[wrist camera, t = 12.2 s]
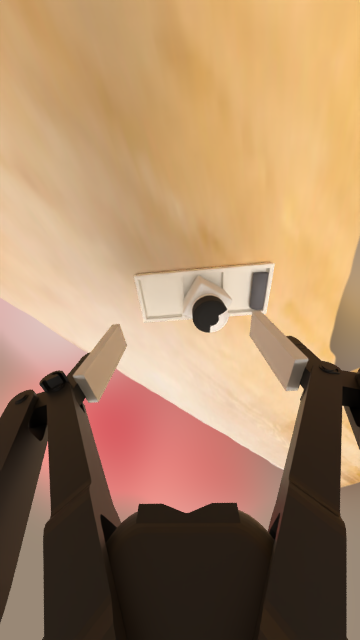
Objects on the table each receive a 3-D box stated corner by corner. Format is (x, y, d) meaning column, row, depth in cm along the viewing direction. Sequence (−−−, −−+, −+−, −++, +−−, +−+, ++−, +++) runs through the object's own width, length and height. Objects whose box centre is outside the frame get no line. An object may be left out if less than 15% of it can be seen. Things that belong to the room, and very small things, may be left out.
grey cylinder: (259, 275, 33) (271, 273, 34) (250, 273, 36) (261, 271, 36) (255, 310, 37) (266, 308, 37) (246, 306, 39) (257, 304, 40)
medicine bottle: (182, 301, 38) (181, 326, 27) (197, 274, 35) (204, 290, 24) (207, 314, 39) (217, 343, 28) (224, 289, 36) (242, 311, 25)
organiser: (136, 274, 37) (133, 276, 35) (269, 262, 35) (274, 263, 33) (145, 318, 42) (143, 322, 40) (262, 310, 41) (266, 313, 39)
